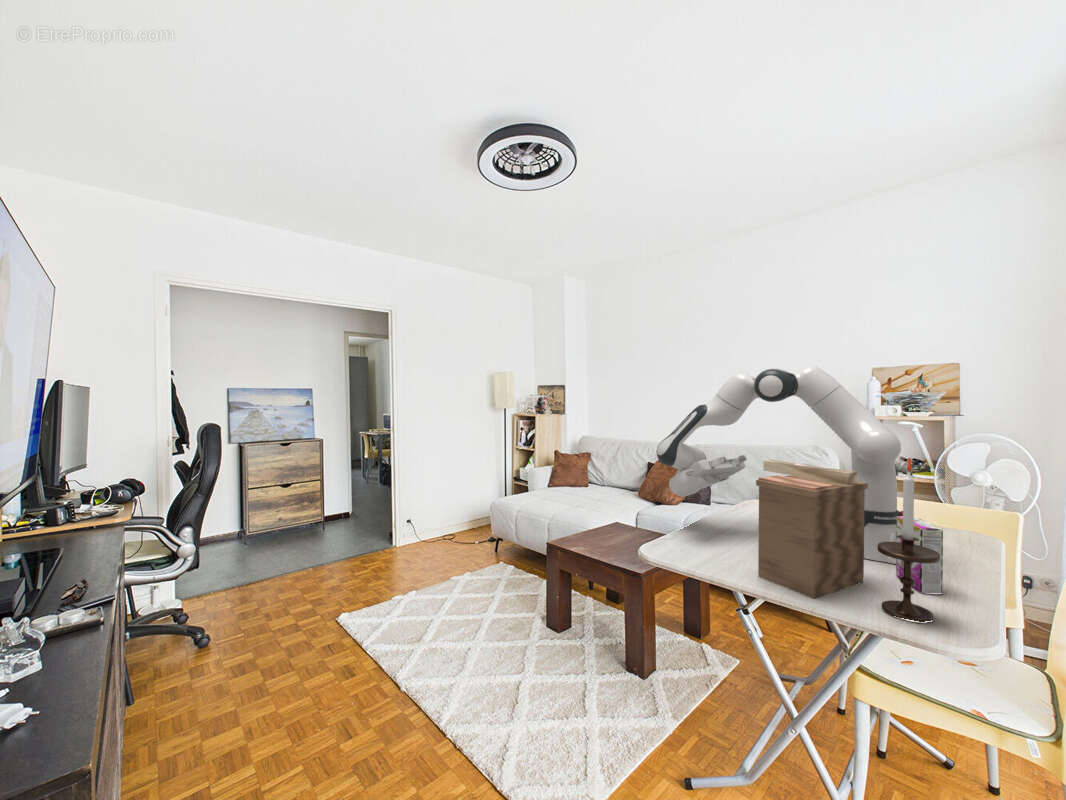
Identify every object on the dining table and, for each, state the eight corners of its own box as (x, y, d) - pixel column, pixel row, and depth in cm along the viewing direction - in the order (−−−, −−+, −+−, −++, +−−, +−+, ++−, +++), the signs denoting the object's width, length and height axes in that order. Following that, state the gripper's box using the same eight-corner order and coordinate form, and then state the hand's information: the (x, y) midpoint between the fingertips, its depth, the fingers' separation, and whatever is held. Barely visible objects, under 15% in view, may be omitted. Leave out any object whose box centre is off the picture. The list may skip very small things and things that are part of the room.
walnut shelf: (806, 562, 135) (807, 471, 134) (866, 582, 120) (867, 481, 120) (755, 576, 125) (756, 478, 124) (814, 600, 111) (815, 489, 110)
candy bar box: (894, 576, 125) (895, 515, 124) (915, 577, 124) (916, 516, 123) (920, 594, 114) (921, 527, 113) (943, 596, 113) (944, 528, 112)
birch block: (772, 469, 141) (772, 459, 141) (856, 483, 119) (857, 471, 119) (763, 470, 139) (763, 459, 139) (847, 484, 118) (848, 472, 118)
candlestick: (885, 598, 111) (887, 453, 111) (944, 615, 103) (947, 458, 102) (869, 611, 105) (871, 457, 104) (931, 631, 96) (933, 463, 95)
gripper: (679, 466, 157) (707, 450, 146) (722, 462, 166) (751, 447, 155) (686, 484, 154) (715, 469, 143) (729, 479, 163) (759, 465, 153)
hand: (734, 458), depth 149 cm, fingers open, 8 cm apart
